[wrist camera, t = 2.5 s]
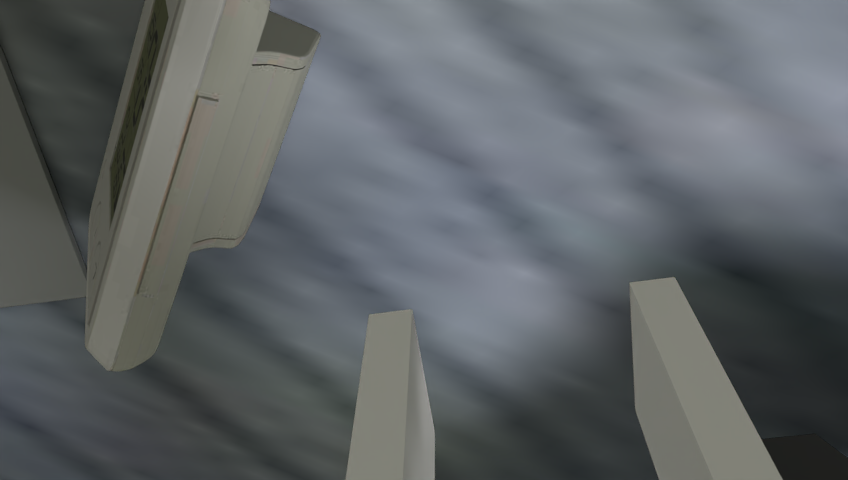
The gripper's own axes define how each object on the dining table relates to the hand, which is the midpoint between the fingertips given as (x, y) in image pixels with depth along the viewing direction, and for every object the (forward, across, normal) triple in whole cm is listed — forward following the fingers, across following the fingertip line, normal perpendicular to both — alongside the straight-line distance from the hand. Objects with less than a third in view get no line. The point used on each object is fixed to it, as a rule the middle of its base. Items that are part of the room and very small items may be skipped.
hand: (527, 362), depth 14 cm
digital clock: (+23, +12, 0) cm, 26 cm away
